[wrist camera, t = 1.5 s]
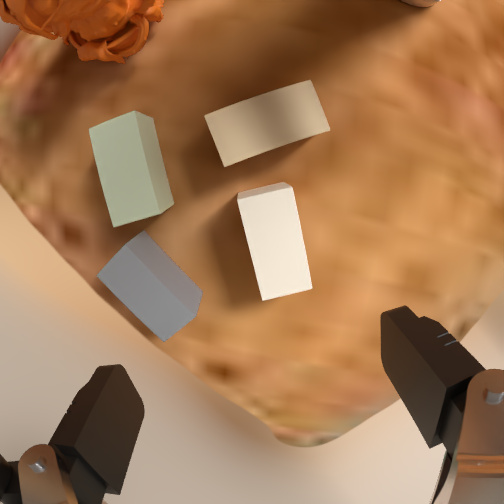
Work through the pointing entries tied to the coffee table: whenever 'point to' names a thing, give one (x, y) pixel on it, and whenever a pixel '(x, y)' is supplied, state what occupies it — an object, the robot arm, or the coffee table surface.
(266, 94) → the oak brick
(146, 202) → the sage brick
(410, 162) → the coffee table surface
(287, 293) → the cream brick
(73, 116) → the coffee table surface
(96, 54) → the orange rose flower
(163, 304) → the slate brick
